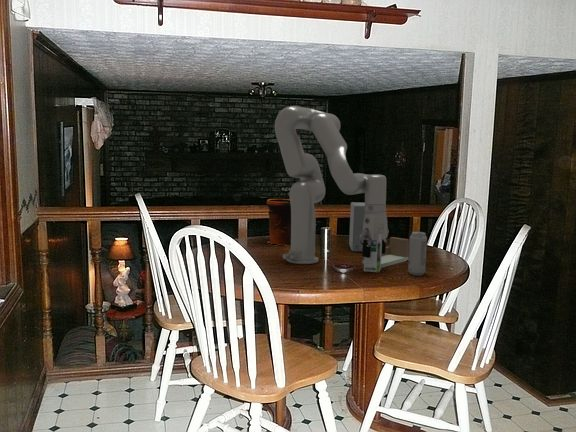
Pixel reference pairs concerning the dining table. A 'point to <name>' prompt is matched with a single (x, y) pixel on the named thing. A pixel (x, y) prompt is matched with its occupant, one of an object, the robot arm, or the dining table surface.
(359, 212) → the hard drive box
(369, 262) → the syrup box
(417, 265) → the energy drink can
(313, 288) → the dining table surface
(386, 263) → the shelf
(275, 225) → the vessel
